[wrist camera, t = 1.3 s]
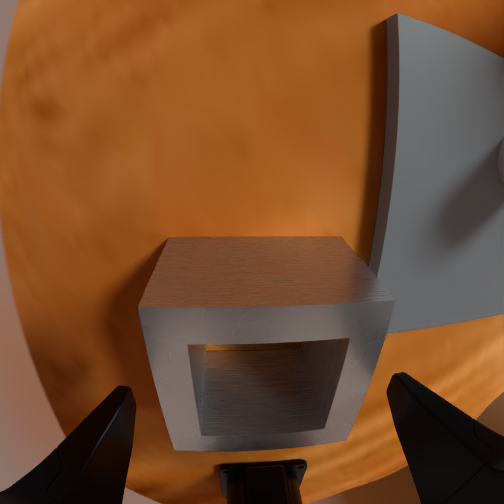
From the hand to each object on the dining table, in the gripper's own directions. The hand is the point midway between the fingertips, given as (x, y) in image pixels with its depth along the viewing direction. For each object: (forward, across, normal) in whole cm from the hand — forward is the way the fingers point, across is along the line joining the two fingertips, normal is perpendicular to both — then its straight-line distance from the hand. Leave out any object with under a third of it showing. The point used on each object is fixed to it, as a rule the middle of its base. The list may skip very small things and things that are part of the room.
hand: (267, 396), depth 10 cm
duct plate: (+5, -12, -6) cm, 14 cm away
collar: (+5, 0, 0) cm, 5 cm away
